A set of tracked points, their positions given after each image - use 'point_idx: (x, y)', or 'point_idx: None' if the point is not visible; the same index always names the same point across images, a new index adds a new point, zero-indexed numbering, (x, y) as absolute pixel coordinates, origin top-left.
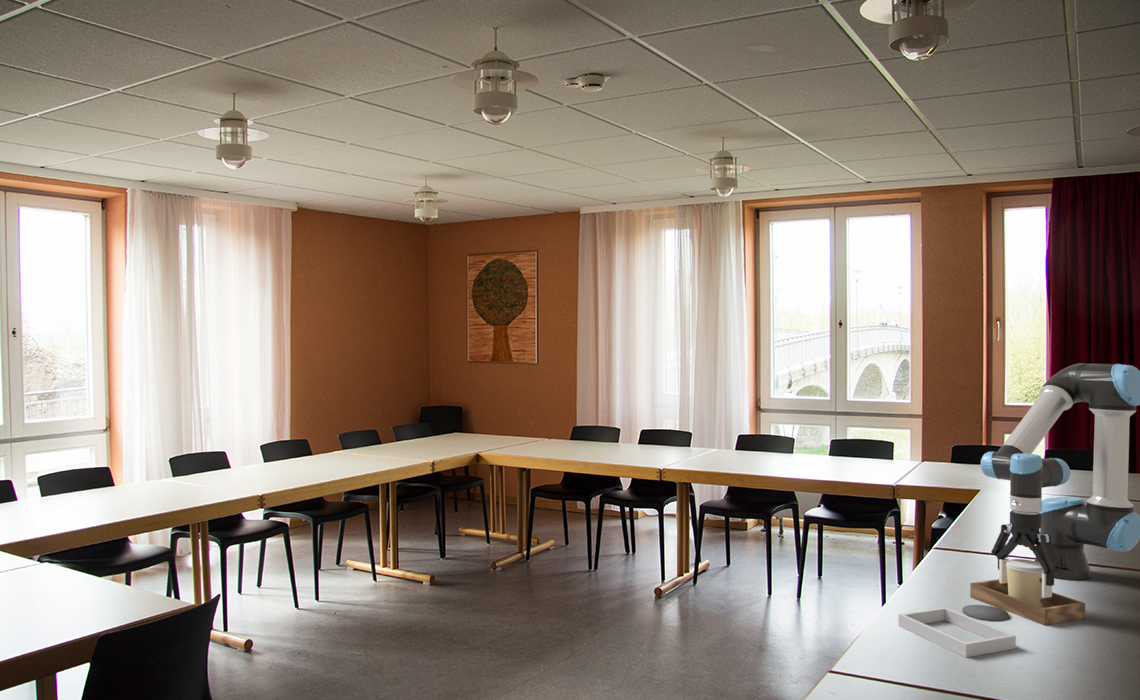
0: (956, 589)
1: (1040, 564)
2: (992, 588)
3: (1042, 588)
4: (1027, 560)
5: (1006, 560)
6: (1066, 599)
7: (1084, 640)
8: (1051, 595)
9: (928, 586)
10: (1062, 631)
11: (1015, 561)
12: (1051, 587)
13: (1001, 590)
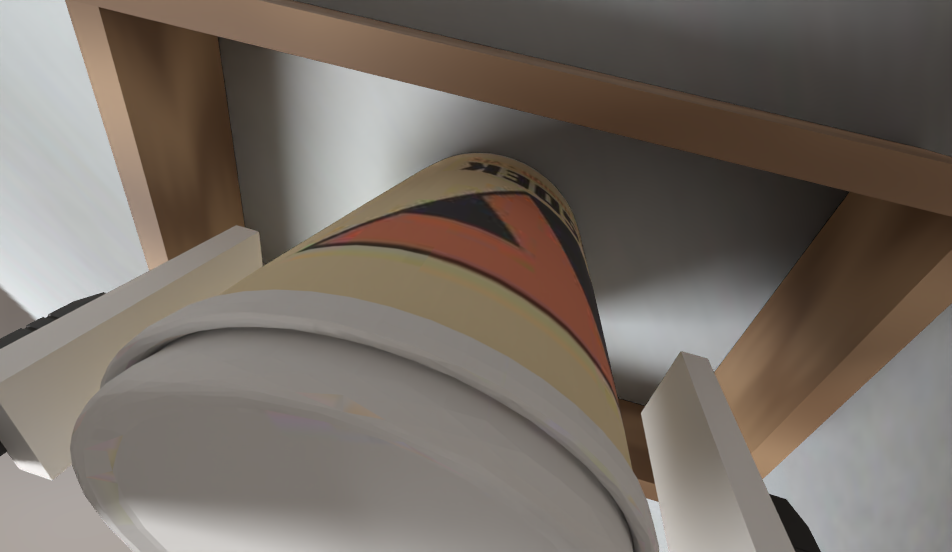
0: (109, 234)
1: (497, 499)
2: (201, 195)
3: (662, 485)
4: (160, 406)
5: (31, 415)
6: (806, 179)
7: (928, 503)
8: (710, 375)
9: (60, 291)
10: (795, 457)
11: (181, 531)
12: (737, 439)
13: (205, 102)
